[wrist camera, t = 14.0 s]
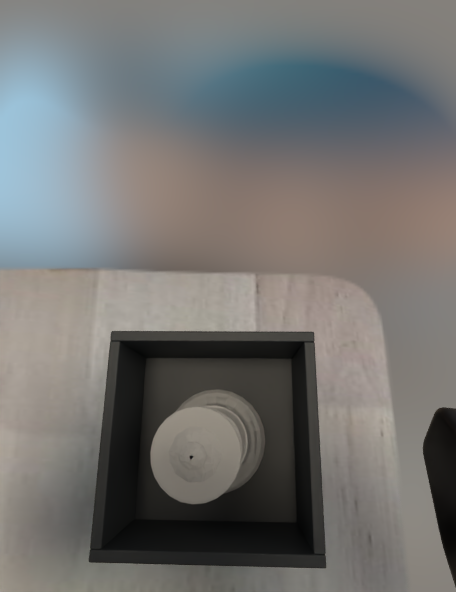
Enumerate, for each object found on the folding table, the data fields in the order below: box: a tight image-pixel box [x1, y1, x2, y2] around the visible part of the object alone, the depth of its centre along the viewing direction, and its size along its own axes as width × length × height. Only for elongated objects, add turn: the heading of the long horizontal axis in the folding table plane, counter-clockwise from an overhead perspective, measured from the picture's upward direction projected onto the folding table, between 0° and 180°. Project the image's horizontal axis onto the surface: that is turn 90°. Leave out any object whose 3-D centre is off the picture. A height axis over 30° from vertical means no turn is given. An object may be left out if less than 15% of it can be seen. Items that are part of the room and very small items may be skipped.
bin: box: [89, 331, 326, 568], centre depth 17 cm, size 8×8×5 cm
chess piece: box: [150, 389, 265, 504], centre depth 14 cm, size 4×4×10 cm
